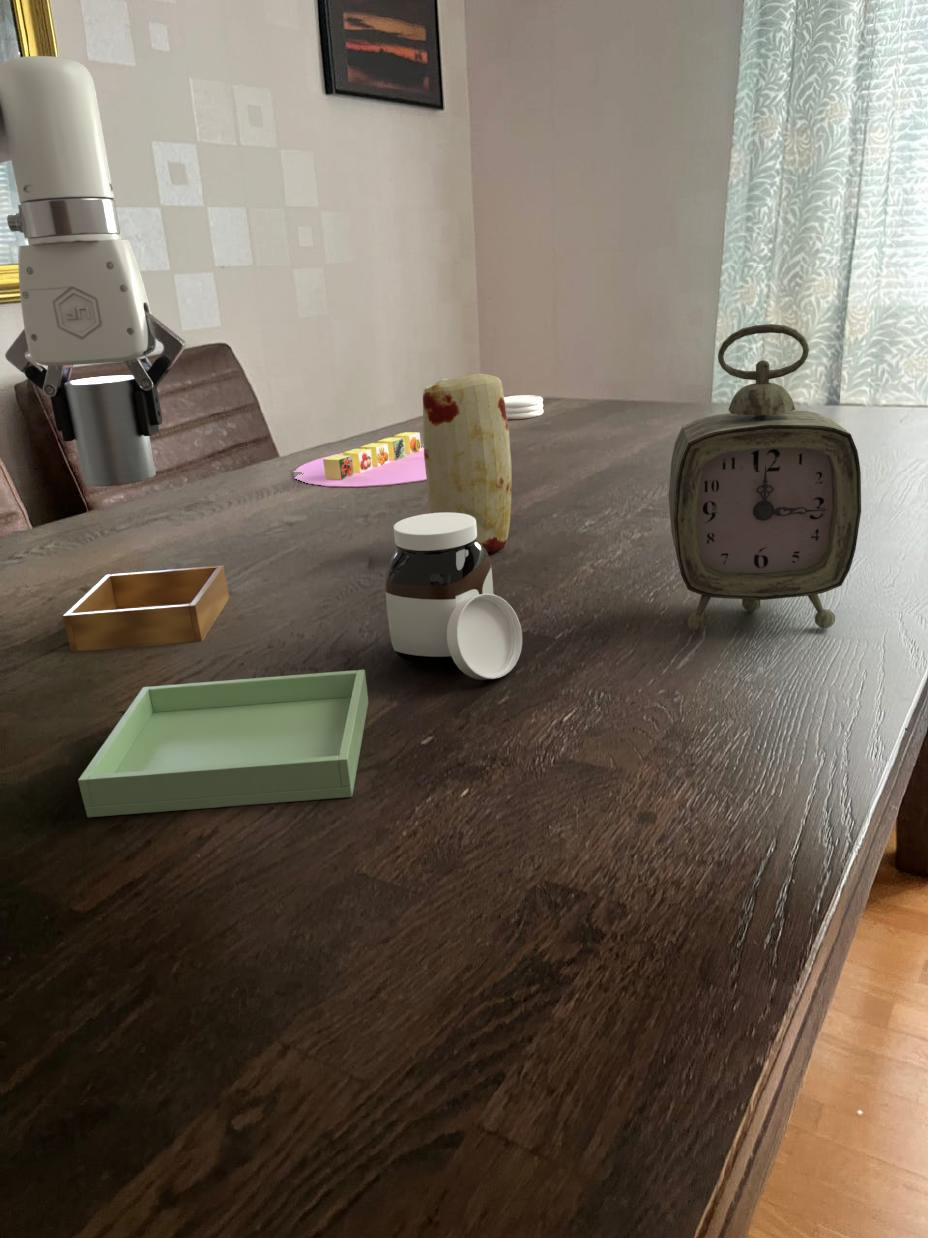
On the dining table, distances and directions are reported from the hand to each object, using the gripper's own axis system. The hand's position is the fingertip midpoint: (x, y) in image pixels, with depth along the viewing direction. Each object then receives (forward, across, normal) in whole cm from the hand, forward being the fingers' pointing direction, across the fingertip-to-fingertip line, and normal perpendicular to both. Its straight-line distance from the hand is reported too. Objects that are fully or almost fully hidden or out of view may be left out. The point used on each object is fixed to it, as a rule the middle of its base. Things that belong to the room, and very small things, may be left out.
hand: (112, 434), depth 88 cm
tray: (+19, +15, -28) cm, 37 cm away
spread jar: (+19, +31, -14) cm, 39 cm away
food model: (+19, +33, +17) cm, 41 cm away
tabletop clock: (+18, +57, -10) cm, 60 cm away
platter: (+19, +20, +72) cm, 77 cm away
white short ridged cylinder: (+18, +45, +112) cm, 122 cm away
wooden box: (+19, +1, 0) cm, 19 cm away
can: (+4, 0, 0) cm, 4 cm away
